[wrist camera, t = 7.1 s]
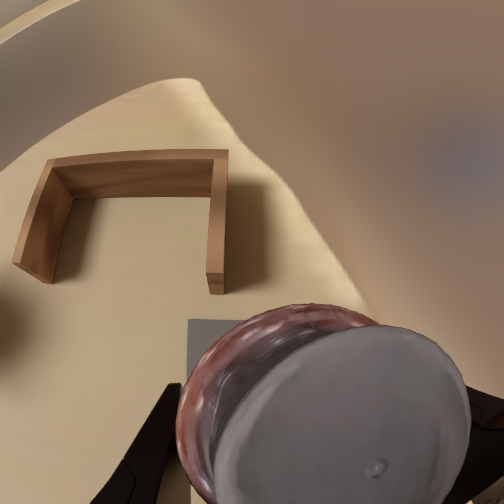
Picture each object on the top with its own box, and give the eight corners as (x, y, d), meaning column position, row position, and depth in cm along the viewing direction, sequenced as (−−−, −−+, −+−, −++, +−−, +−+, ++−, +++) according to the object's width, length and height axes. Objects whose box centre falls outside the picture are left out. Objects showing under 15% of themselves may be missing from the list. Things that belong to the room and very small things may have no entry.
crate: (223, 294, 21) (223, 273, 16) (44, 283, 20) (11, 262, 15) (227, 188, 25) (228, 149, 20) (68, 191, 23) (47, 159, 19)
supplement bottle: (302, 325, 16) (454, 216, 5) (334, 426, 14) (513, 480, 2) (189, 356, 15) (81, 310, 3) (223, 462, 13) (228, 628, 1)
